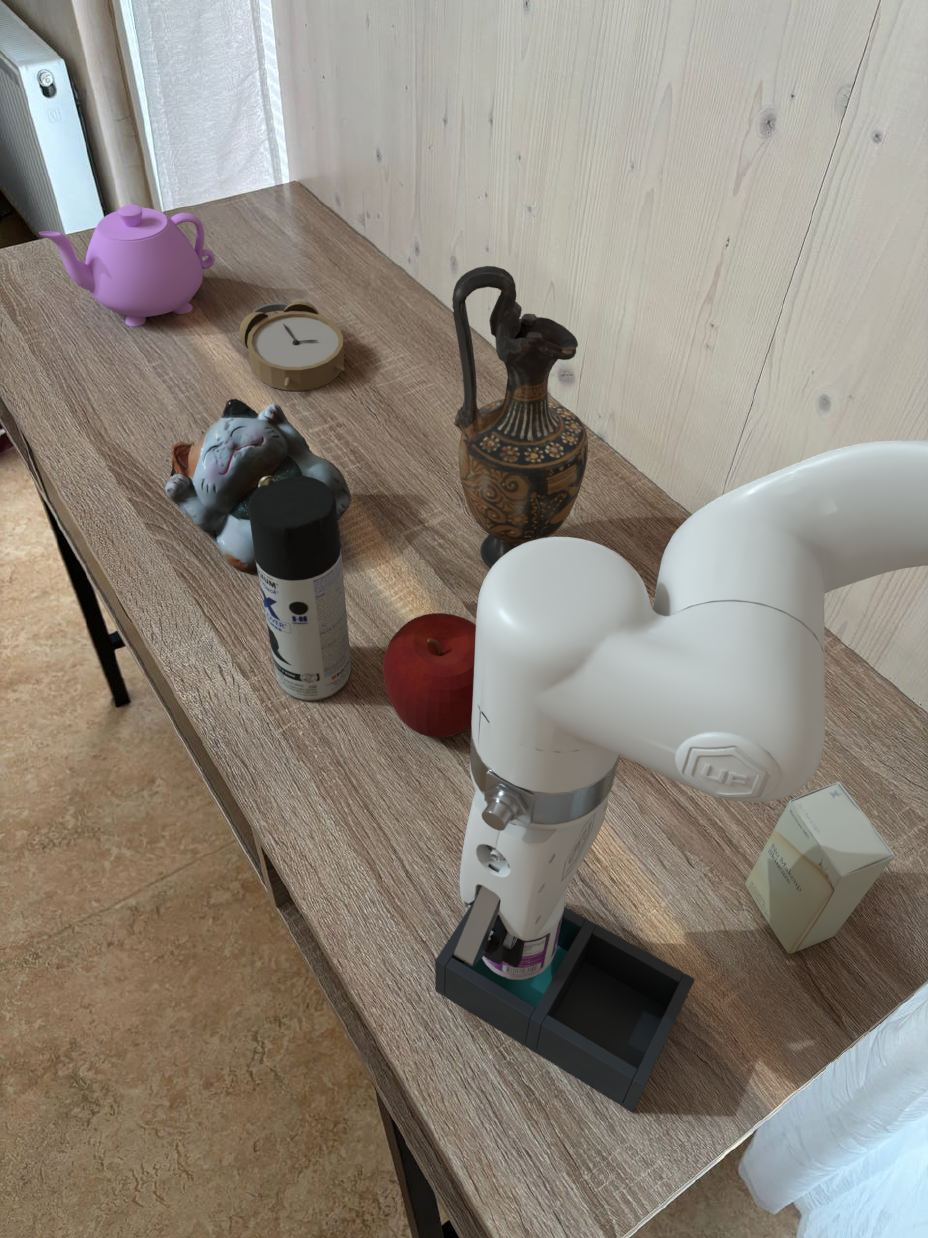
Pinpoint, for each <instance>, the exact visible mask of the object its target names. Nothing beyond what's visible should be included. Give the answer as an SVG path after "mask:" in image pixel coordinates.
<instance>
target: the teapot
mask: <svg viewBox="0 0 928 1238" xmlns="http://www.w3.org/2000/svg"><path fill="white" fill-rule="evenodd" d="M183 223H193V224H194V227H195V244H194V246H193V243H191V241H190V240H189V238H188V237H187V236H186V235H185V233H184V232H183V231H182V230H181V228H180V227H178V225H180V224H183ZM38 234H39V235H40V236H42V237H44V238H46V239H49V240H50V241H51V242H53V243H54V244H55V246H56V247H57V249H58V250H59V253H60V256H61V260H62V262H63V265H64V268H65V270H66V272H67V274H68V276H69V278H71V280H72V282H74V284H75V285H77V286H78V287H80V288H81V289H83V290H86V291H89V293H90V294H91V296H92V297H93V298H94V300H96V301H97V302H98V303H99V304H101V305H102V306H103V307H105V308H107V309H108V310H111V311H112V312H114V313H116V314H119V315H122V316H125V324H126V325H127V326H129V327H139V326H142V325H144V324H145V323H146V322H147V317H154V316H156V317H157V316H161V315H164V314H165V315H166V314H167V313H170V312H173V313H175V314H178V315H183V314H188V313H190V312H191V311H193V305H192V304H190V301H191V300H192V298H193V297H195V295H196V293H197V292H198V290H199V288H200V287H201V286H202V284H203V283H202V282H203V279H204V271H203V270H208V269H211V267H213V265H214V264H215V260H216V259H215V255H214V253H213V252H212V251H211V250H210V249H206V248H205V249H204V244H205V228H204V224H203V223H202V221H201V219H200V218H199V217H197V216H196V215H194V214H192V213H189V212H179V213H176V214H174V215H172V216H171V217H168V215H166V214H165V213H163V212H162V211H159V210H157V209H153V208H150V207H141V206H140V205H137V204H126V205H123V206H120V207H119V208H118V210H116V211H113V212H110V213H109V214H107V215H105V216H104V217H102V218H101V219H100V220H99V222H98V223H97V225H96V227H95V229H94V231H93V233H92V236H91V238H90V242H89V244H88V248H87V251H86V257H85V262H83V261H80V260H79V259H78V257H77V256H76V253H75V250H74V248H73V245H72V243H71V242H70V240H69V239H68V237H67V236H66V235H64V234H63V233H61V232H58V231H53V230H51V231H50V230H43V231H39V232H38ZM206 256H207V258H206V259H204V260H203V257H206Z"/></svg>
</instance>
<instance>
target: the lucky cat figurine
mask: <svg viewBox="0 0 928 1238" xmlns="http://www.w3.org/2000/svg"><path fill="white" fill-rule="evenodd" d="M170 453H171V455H172V459H171V472H170V474H169V478H168V481H167V482H166V484H165V486H164V491H165V495H166V496H167V497H168V499H169V500H170V501H171V502H172V503H174V505H176V506H177V507H178V508H179V510H180V511H181V513H183V515H185V516H186V517H187V518H189V519H190V520H191V521H192V522H193V523H194V524H195V525H196V526H197V527H198V529H200V530H201V531H203V533H204V534H206V535H207V536H208V537H209V539H211V540H212V541H213V542H214V543H215V545H216V546H217V547H218V548H219V550H220V551H221V552H222V554H223V557H224V558H225V560H226V561H227V562H228V563H229V564H230V565H231V567H233V568H234V569H236V570H237V571H241V572H245V573H250V574H255V575H258V570H257V565H256V559H255V554H254V546H253V539H252V532H251V525H250V518H249V512H248V503H249V501H250V498H251V496H252V495H253V493H254V491H256V490H257V489H258V488H259V487H260V486H262V485H268V484H270V483H272V482H275V481H278V480H281V479H286V478H297V477H299V476H302V475H304V476H307V477H312V478H315V479H318V480H320V481H322V482H324V483H325V484H326V485H327V486H328V487H329V488H330V489H331V490H332V491H333V493H334V495H335V499H336V506H337V515H338V521H339V520H340V519H341V518H342V517H343V516H344V514H346V512H347V510H348V509H349V508H350V506H351V502H352V496H351V490H350V488H349V485H348V483H347V481H346V479H345V477H344V475H343V473H342V471H341V470H340V469H339V468H338V467H337V466H336V465H335V464H334V463H333V462H331V461H330V460H328V459H327V458H324V457H322V456H319V455H317V454H315V453H313V451H312V450H311V449H310V445H309V444H308V443H307V440H306V438H305V437H304V436H302V434H301V432H299V431H298V429H297V428H295V427H294V426H293V424H292V423H291V422H290V421H289V419H288V418H287V416H286V415H285V413H284V410H283V409H282V407H281V405H279V404H278V403H271V404H268V405H267V406H266V407H265V408H264V409H263V410H261V412H257V411H256V410H255V409H253V408H252V407H250V406H249V405H247V403H246V402H243V401H242V400H240V399H237V398H230V399H228V400H226V402H225V406H224V408H223V411H222V413H221V414H220V417H219V419H218V420H216V421H214V422H213V423H211V425H209V427H208V428H207V430H206V431H205V432H204V433H202V435H201V436H200V437H199V439H198V441H197V442H196V443H195V441H190V442H189V441H188V442H185V441H179V442H176V443H174V445H172V446H171V449H170Z"/></svg>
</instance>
